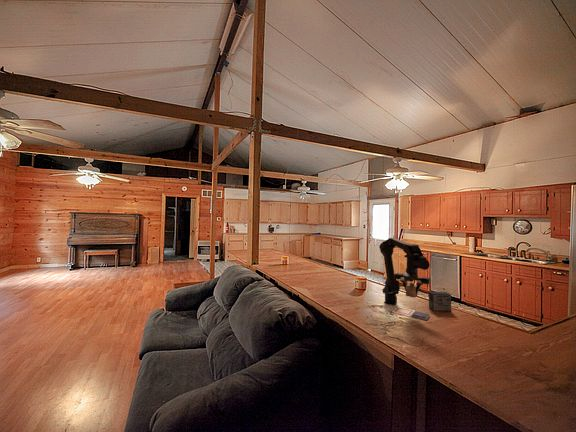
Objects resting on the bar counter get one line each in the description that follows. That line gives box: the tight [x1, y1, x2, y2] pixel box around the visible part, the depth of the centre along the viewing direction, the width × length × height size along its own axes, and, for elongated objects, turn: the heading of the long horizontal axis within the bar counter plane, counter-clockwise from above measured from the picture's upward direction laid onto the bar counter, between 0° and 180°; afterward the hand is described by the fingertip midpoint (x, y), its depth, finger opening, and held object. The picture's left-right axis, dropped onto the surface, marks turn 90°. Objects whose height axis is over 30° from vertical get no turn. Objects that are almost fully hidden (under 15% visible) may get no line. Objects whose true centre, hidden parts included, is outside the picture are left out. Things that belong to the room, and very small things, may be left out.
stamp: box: [405, 281, 418, 298], centre depth 149 cm, size 5×5×8 cm
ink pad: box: [410, 310, 431, 321], centre depth 145 cm, size 8×8×1 cm
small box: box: [428, 291, 452, 313], centre depth 156 cm, size 11×6×10 cm, turn 84°
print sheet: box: [391, 306, 417, 317], centre depth 153 cm, size 10×12×1 cm
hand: (411, 293), depth 149 cm, fingers closed on stamp, 5 cm apart
